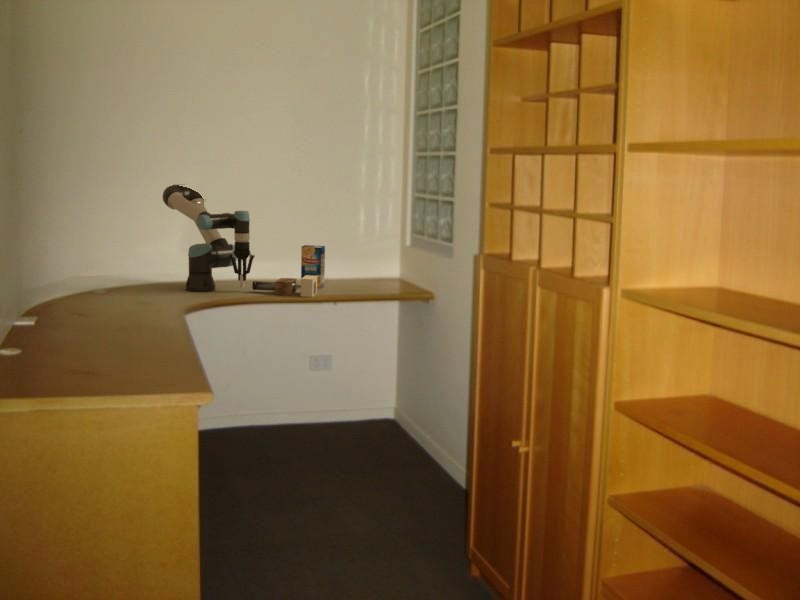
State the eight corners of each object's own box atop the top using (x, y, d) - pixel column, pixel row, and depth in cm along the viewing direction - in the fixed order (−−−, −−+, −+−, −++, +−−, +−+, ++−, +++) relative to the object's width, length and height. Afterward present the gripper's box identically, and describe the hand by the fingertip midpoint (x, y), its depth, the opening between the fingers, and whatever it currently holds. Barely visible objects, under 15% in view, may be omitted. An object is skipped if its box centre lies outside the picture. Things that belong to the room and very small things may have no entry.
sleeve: (275, 295, 461) (275, 281, 460) (281, 291, 473) (281, 278, 472) (290, 295, 461) (291, 282, 459) (296, 292, 472) (296, 278, 471)
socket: (300, 296, 460) (300, 278, 458) (305, 292, 472) (305, 275, 470) (312, 297, 459) (312, 279, 458) (317, 293, 471) (317, 275, 470)
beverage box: (320, 288, 485) (321, 247, 481) (300, 287, 487) (301, 246, 483) (324, 286, 491) (325, 246, 488) (305, 285, 494) (305, 245, 490)
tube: (252, 290, 466) (252, 281, 465) (254, 289, 471) (254, 280, 470) (294, 292, 464) (294, 283, 463) (296, 290, 468) (296, 282, 468)
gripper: (227, 241, 462) (227, 287, 466) (252, 242, 460) (252, 288, 464) (231, 240, 469) (232, 285, 473) (256, 240, 468) (256, 286, 472)
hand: (242, 287), depth 469 cm, fingers closed
